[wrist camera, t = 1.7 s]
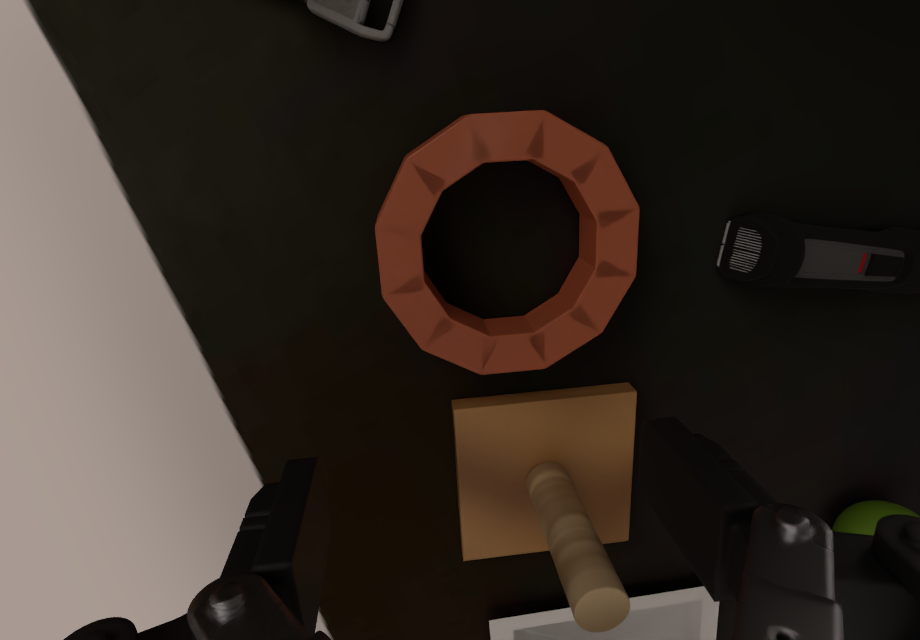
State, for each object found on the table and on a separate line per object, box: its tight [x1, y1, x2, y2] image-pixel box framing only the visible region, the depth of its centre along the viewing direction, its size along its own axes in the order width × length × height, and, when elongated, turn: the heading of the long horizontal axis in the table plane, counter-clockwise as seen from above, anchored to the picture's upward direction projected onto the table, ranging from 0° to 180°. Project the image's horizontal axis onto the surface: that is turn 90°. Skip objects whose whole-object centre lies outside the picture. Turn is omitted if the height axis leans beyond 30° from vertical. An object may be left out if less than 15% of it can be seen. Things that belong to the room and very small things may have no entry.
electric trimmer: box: [717, 213, 920, 293], centre depth 29 cm, size 4×16×3 cm, turn 85°
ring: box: [375, 110, 640, 375], centre depth 26 cm, size 12×12×3 cm
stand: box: [452, 382, 637, 632], centre depth 27 cm, size 10×10×10 cm
